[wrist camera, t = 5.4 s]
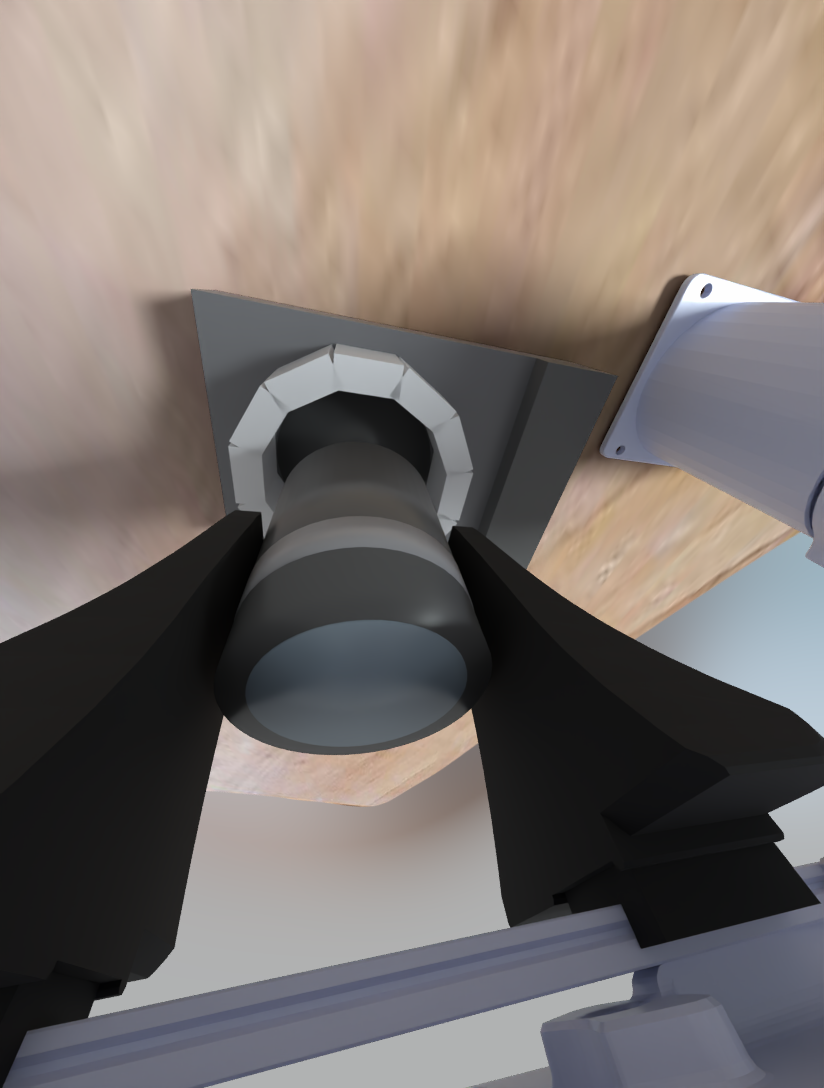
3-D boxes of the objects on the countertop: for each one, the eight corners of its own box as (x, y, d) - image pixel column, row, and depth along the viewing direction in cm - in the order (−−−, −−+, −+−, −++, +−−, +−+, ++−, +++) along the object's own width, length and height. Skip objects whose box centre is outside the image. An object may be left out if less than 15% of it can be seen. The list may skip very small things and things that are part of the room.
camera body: (570, 361, 16) (645, 383, 12) (501, 537, 21) (536, 593, 17) (216, 290, 12) (153, 286, 8) (244, 520, 18) (214, 584, 14)
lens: (459, 492, 12) (548, 654, 6) (380, 588, 14) (397, 769, 8) (325, 406, 9) (291, 544, 4) (254, 536, 11) (172, 737, 6)
